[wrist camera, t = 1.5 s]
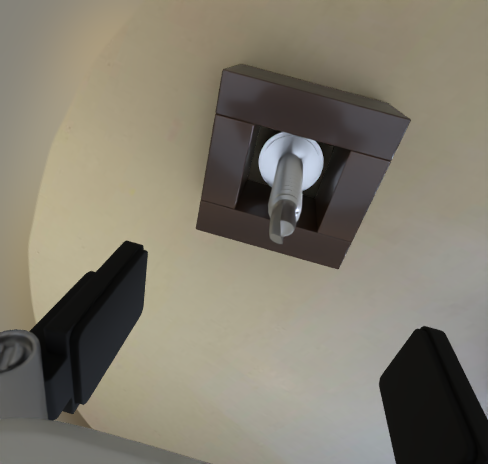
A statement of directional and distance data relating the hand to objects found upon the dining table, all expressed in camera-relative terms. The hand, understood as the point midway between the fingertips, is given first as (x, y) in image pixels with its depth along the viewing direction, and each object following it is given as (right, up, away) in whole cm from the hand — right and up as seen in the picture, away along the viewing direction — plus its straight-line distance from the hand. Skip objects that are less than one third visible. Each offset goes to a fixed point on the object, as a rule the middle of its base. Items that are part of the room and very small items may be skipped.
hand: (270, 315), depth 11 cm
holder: (+3, +9, +15) cm, 18 cm away
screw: (+3, +9, +15) cm, 18 cm away
